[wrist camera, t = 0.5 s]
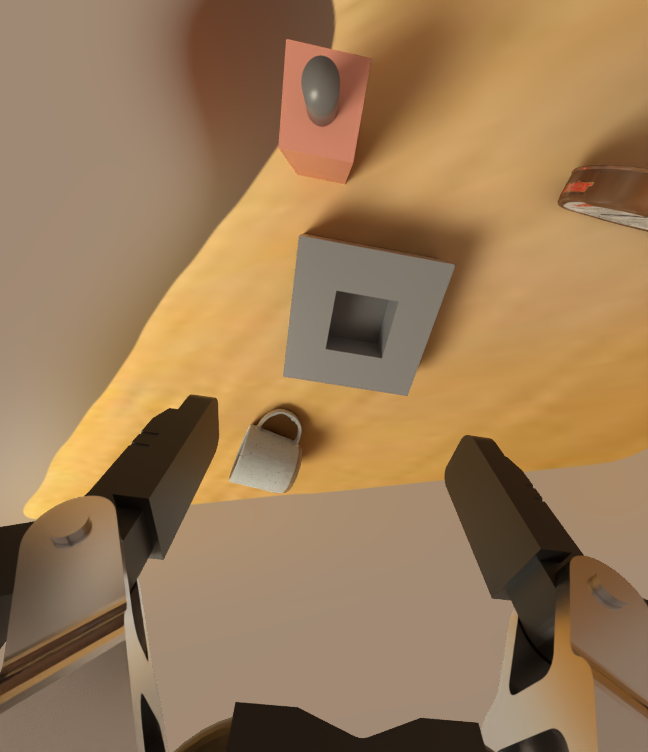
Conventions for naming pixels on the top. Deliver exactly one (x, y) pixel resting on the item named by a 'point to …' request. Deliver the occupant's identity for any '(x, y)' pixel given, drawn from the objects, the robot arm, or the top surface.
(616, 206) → the tin
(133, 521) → the robot arm
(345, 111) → the plug
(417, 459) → the top surface
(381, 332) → the socket block
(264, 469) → the ceramic mug
